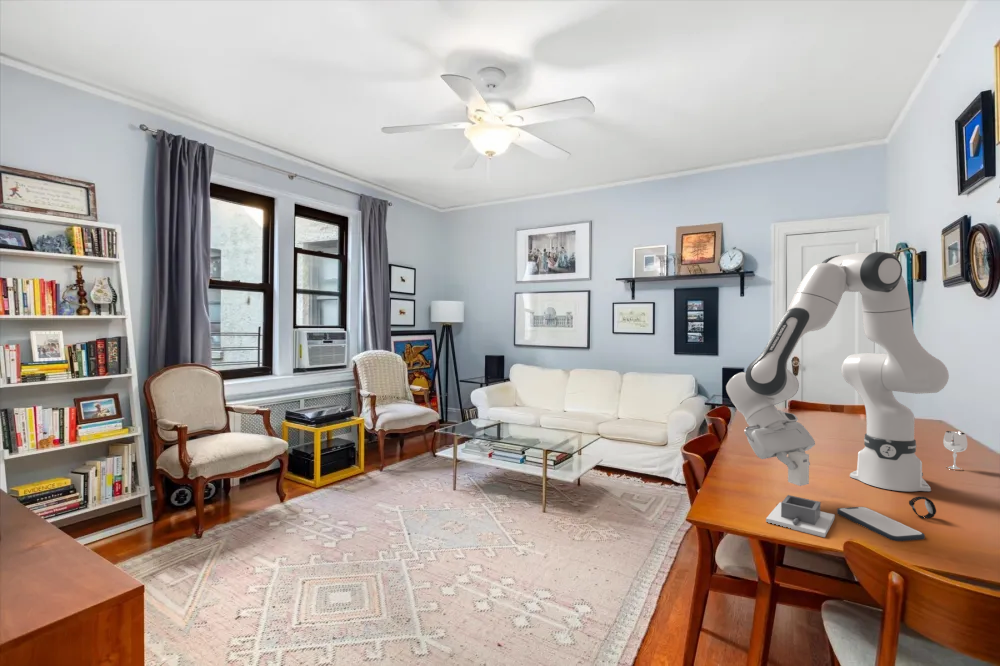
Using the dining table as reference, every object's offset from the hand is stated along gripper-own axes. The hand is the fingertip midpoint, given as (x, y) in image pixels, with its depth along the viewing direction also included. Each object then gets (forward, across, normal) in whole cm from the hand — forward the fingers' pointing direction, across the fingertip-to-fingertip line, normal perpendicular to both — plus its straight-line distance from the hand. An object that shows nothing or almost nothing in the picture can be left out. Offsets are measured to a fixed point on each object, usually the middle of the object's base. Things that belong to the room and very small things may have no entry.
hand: (800, 467), depth 128 cm
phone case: (+19, +4, -4) cm, 20 cm away
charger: (+3, 0, +4) cm, 4 cm away
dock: (+12, -10, +2) cm, 16 cm away
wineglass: (+8, +75, +8) cm, 76 cm away
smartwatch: (+20, +20, -5) cm, 28 cm away
